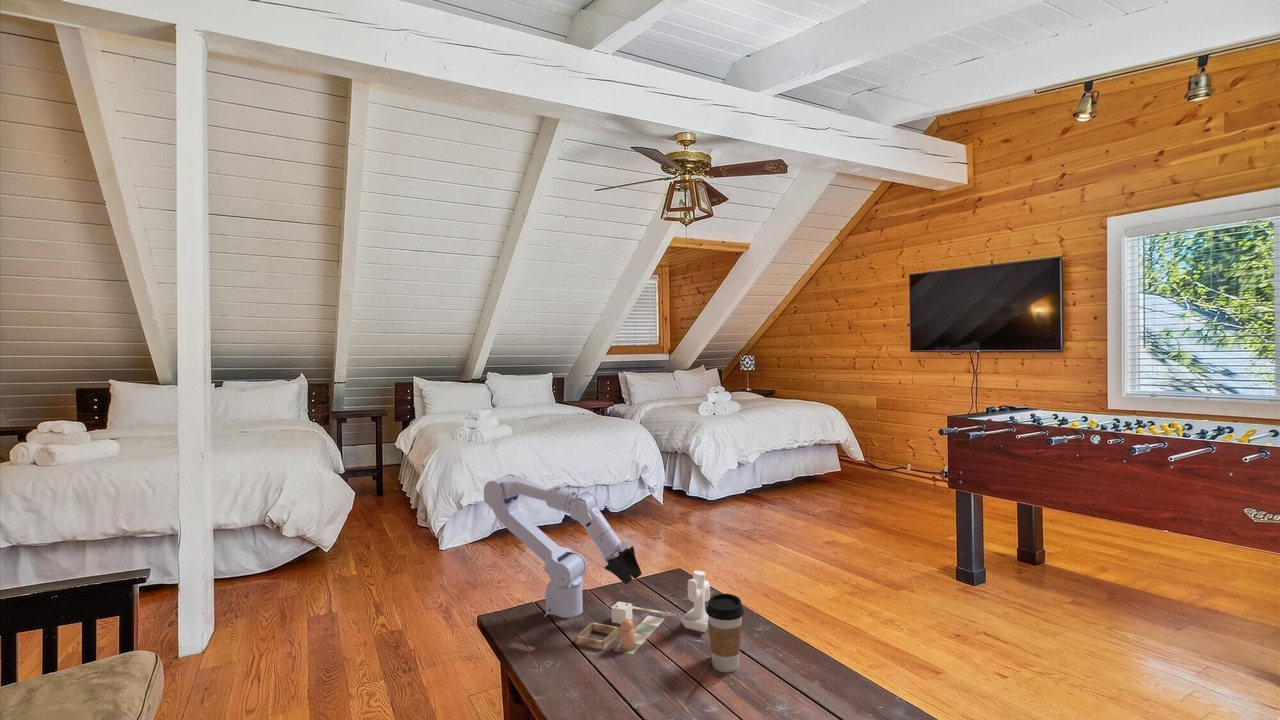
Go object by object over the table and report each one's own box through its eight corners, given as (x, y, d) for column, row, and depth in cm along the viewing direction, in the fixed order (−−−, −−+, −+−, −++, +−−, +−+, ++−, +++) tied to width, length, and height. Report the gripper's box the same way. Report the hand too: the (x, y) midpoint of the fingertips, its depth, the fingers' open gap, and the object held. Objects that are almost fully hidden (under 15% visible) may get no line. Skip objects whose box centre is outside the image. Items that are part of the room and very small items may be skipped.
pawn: (617, 649, 154) (616, 621, 153) (624, 642, 157) (623, 615, 157) (631, 652, 152) (630, 624, 152) (637, 645, 155) (637, 617, 155)
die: (611, 622, 168) (611, 607, 168) (618, 616, 172) (618, 601, 171) (625, 625, 166) (625, 609, 166) (632, 618, 170) (632, 603, 170)
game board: (572, 651, 156) (571, 638, 156) (620, 607, 179) (619, 596, 179) (629, 663, 150) (628, 650, 149) (671, 616, 173) (670, 605, 173)
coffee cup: (747, 659, 151) (746, 595, 150) (740, 678, 143) (739, 610, 142) (711, 653, 153) (710, 591, 152) (702, 672, 145) (702, 605, 145)
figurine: (720, 625, 167) (719, 568, 167) (704, 641, 159) (704, 581, 159) (694, 619, 171) (693, 563, 170) (678, 634, 163) (677, 575, 162)
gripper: (622, 519, 166) (654, 564, 163) (606, 533, 178) (636, 575, 175) (601, 534, 162) (633, 581, 159) (586, 548, 174) (616, 591, 171)
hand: (633, 579), depth 167 cm, fingers open, 7 cm apart
